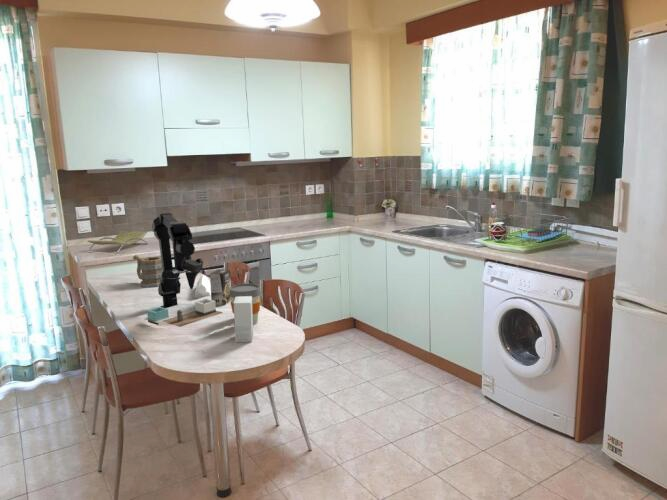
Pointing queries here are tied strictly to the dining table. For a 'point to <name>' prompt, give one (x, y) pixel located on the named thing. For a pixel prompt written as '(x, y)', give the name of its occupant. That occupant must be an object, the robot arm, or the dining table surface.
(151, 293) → the dining table surface
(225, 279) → the coffee box
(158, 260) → the tankard
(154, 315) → the teal sleeve
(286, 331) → the dining table surface
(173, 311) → the dining table surface
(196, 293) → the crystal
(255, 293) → the reusable coffee cup
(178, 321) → the pin board
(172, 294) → the robot arm
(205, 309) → the grey sleeve
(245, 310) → the skincare box
